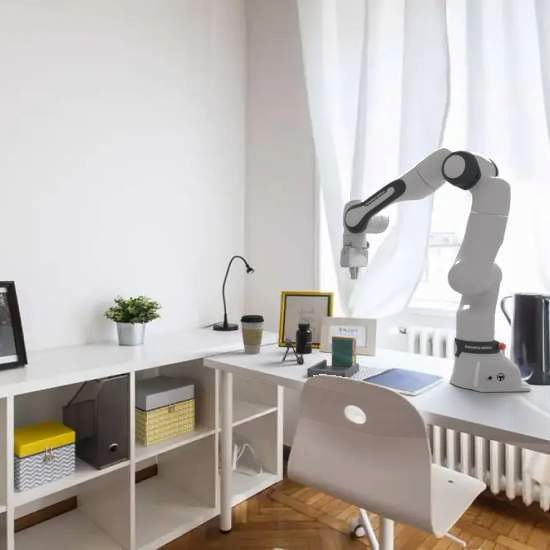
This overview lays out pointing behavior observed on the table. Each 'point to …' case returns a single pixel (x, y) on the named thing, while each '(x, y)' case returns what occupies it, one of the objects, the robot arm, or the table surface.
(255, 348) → the coffee cup
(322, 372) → the tray
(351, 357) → the green tan block
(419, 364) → the table surface
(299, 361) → the portable electronic device stand
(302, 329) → the supplement bottle
